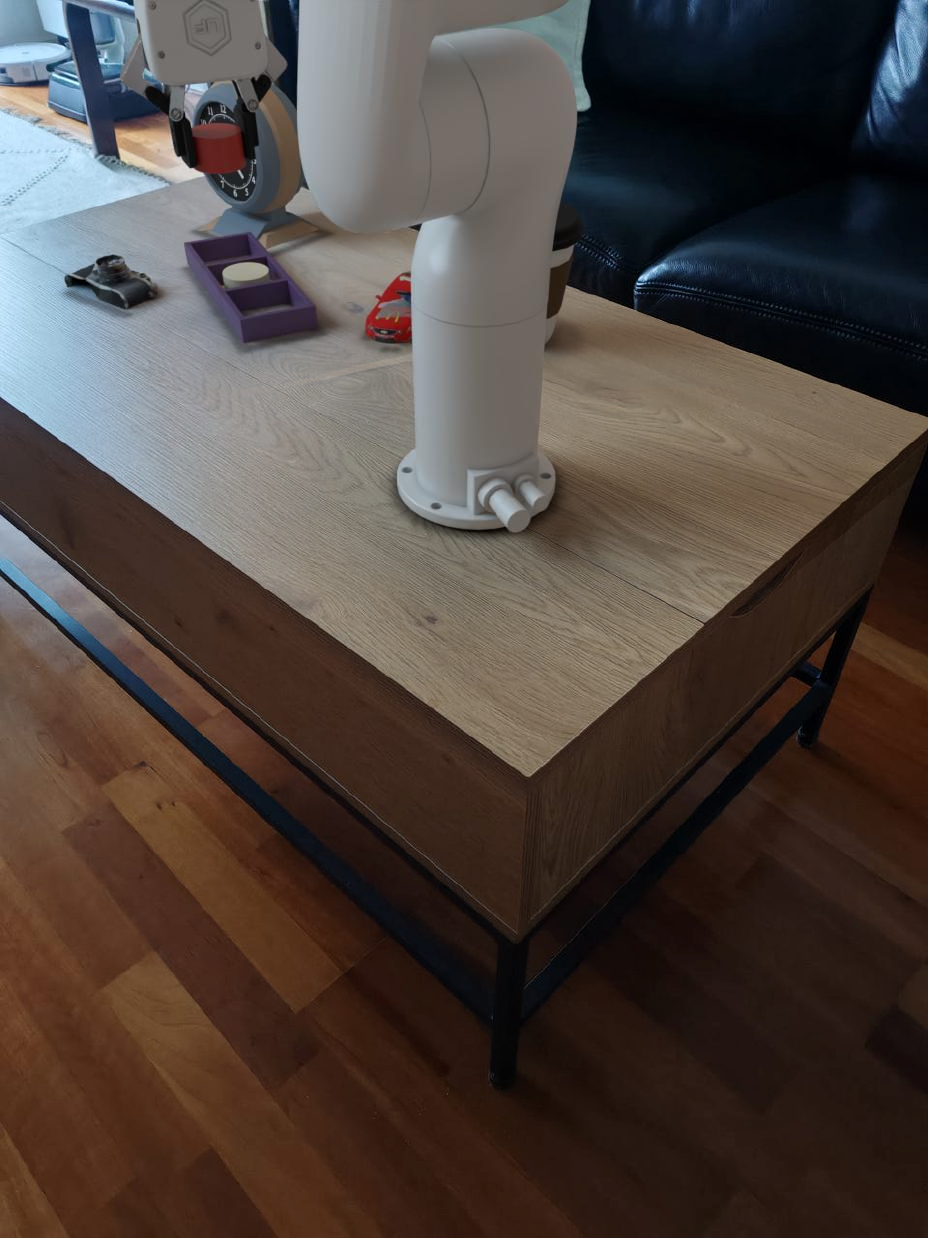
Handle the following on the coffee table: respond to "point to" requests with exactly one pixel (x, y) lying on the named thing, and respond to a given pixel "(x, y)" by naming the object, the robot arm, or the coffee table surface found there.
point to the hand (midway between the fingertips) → (218, 157)
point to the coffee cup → (561, 260)
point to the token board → (250, 288)
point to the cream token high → (245, 274)
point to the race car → (392, 313)
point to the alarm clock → (258, 169)
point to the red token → (218, 148)
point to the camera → (115, 282)
